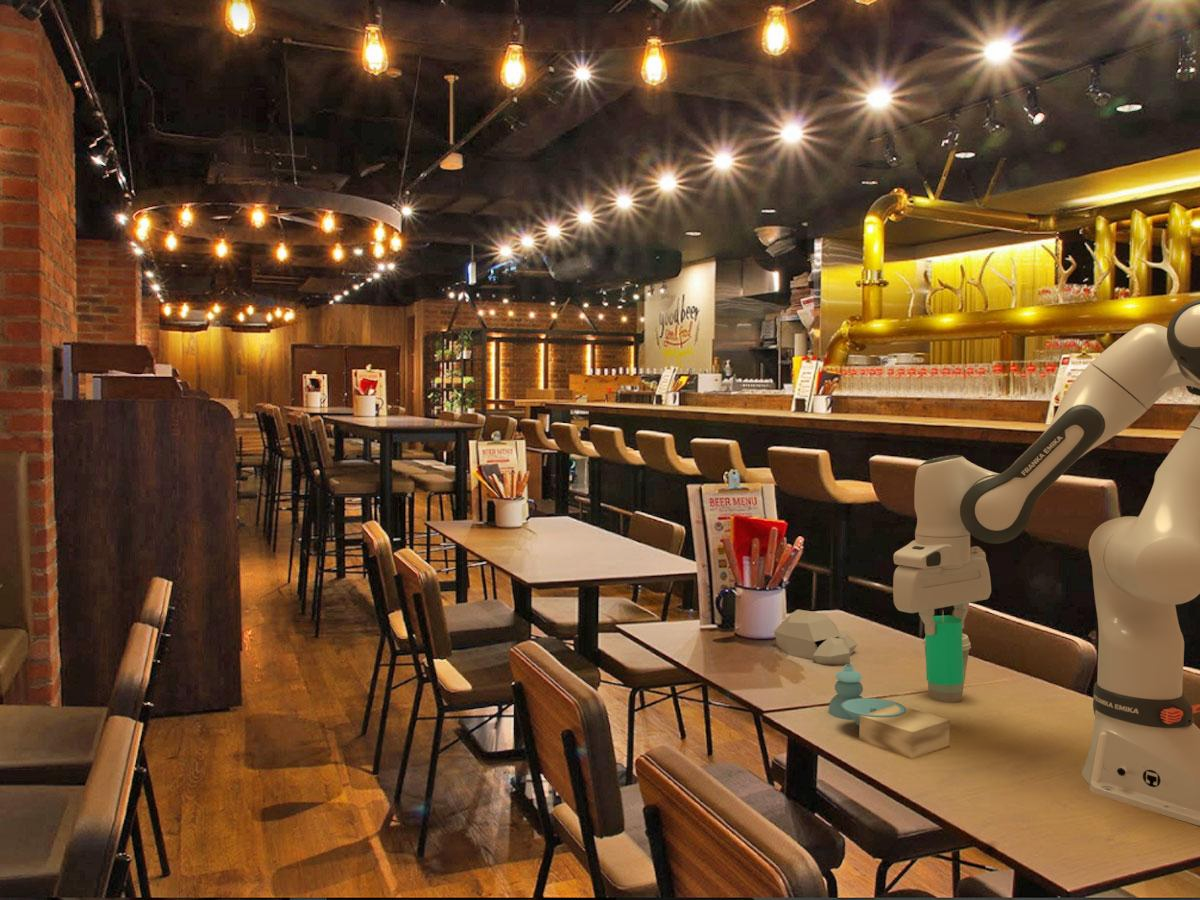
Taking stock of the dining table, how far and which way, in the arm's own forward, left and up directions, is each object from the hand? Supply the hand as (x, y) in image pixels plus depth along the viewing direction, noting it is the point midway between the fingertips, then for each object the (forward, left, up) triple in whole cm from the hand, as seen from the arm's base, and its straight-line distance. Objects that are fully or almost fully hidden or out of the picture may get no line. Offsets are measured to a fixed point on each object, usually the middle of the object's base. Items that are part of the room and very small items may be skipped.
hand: (944, 631), depth 170 cm
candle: (0, 0, -9) cm, 9 cm away
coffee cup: (+12, -14, -17) cm, 25 cm away
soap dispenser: (+6, +12, -17) cm, 21 cm away
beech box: (-4, +13, -17) cm, 21 cm away
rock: (+46, -12, -17) cm, 51 cm away
